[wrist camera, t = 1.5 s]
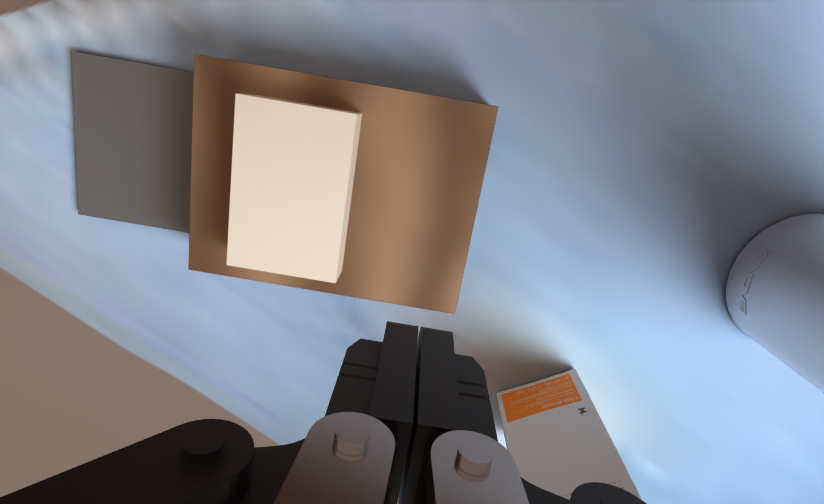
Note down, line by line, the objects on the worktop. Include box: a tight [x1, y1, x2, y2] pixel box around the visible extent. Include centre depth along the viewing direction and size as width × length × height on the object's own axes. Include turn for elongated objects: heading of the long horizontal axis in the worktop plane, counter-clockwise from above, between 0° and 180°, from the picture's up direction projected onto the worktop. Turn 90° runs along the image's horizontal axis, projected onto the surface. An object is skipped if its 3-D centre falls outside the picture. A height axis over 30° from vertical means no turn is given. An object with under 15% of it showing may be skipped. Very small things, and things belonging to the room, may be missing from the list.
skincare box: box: [496, 369, 642, 500], centre depth 30 cm, size 6×4×12 cm
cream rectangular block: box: [227, 93, 362, 283], centre depth 26 cm, size 6×9×2 cm, turn 171°
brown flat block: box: [189, 54, 498, 314], centre depth 29 cm, size 16×12×4 cm
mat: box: [71, 51, 194, 233], centre depth 31 cm, size 8×10×1 cm
